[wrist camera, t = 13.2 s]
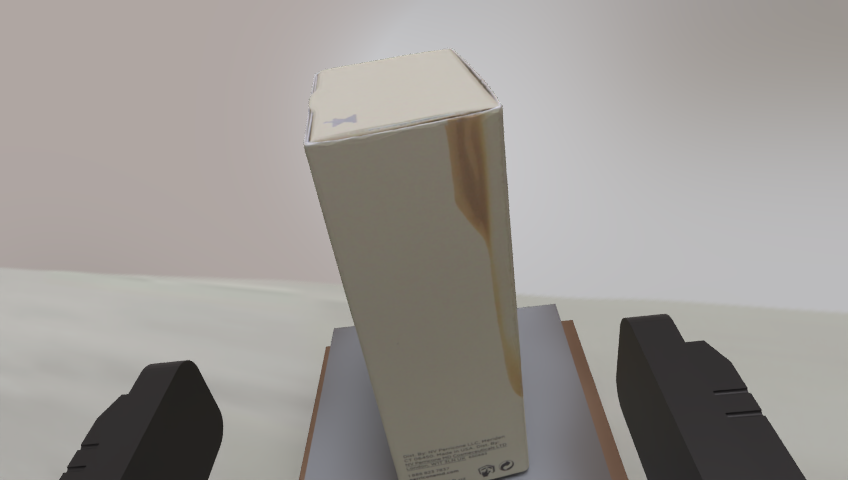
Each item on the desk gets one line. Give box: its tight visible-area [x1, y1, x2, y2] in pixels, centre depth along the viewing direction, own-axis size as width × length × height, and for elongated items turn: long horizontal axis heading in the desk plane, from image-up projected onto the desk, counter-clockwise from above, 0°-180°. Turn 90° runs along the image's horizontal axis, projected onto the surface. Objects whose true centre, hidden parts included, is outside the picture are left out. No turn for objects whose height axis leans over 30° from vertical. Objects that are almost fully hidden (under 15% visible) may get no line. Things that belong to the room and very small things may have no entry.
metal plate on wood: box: [299, 304, 628, 480], centre depth 21 cm, size 12×12×5 cm
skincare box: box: [304, 48, 529, 480], centre depth 17 cm, size 6×4×12 cm
